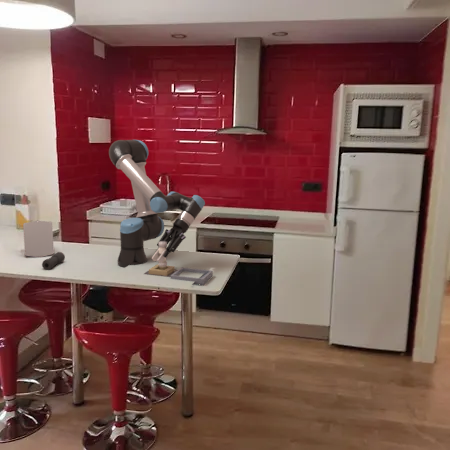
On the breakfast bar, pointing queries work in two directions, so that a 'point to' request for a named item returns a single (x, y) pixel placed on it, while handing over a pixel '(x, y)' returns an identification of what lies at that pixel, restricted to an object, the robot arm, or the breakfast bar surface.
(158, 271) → the yellow rectangular tray
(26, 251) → the electrical switch box
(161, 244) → the fuse
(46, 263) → the flashlight
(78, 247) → the breakfast bar surface
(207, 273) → the grey rectangular frame
